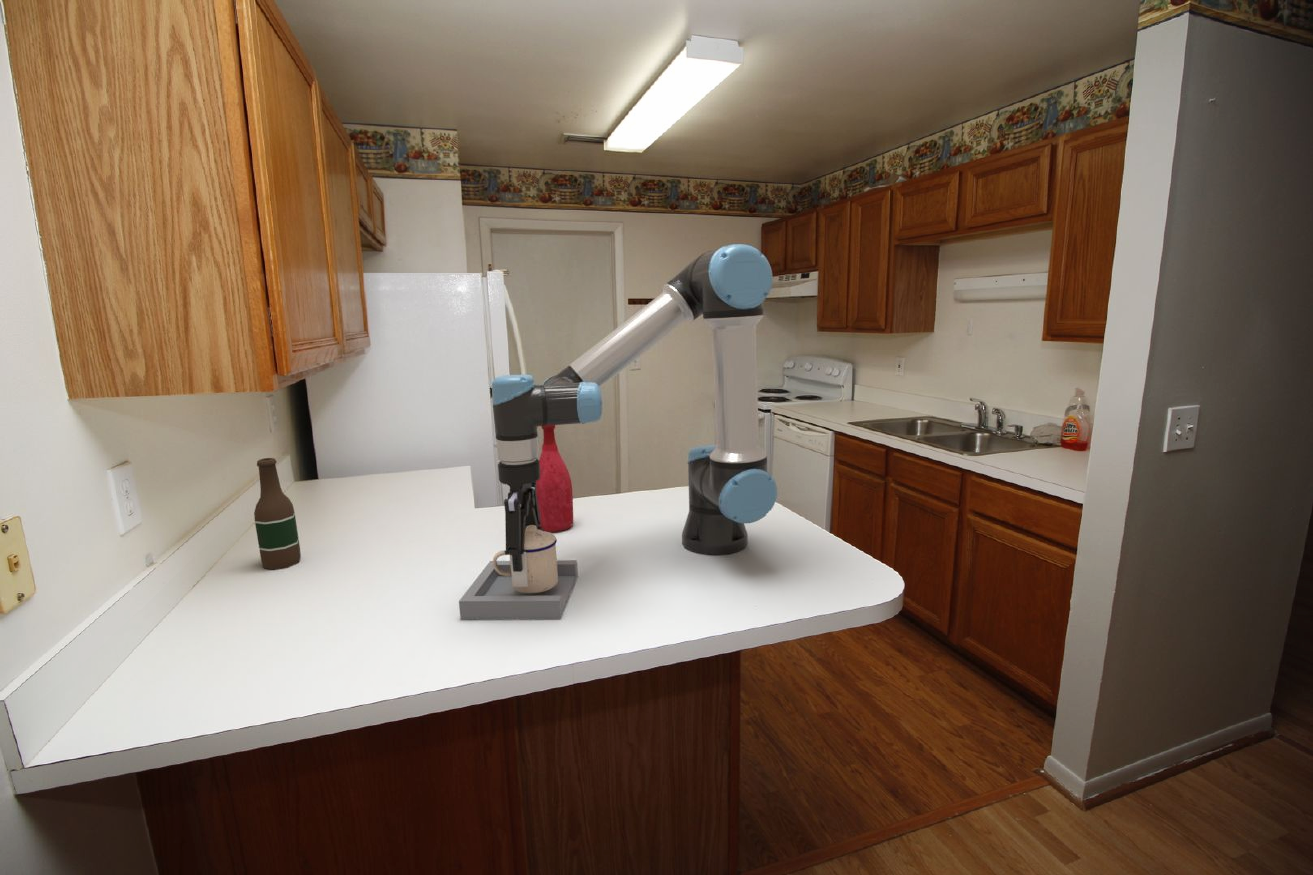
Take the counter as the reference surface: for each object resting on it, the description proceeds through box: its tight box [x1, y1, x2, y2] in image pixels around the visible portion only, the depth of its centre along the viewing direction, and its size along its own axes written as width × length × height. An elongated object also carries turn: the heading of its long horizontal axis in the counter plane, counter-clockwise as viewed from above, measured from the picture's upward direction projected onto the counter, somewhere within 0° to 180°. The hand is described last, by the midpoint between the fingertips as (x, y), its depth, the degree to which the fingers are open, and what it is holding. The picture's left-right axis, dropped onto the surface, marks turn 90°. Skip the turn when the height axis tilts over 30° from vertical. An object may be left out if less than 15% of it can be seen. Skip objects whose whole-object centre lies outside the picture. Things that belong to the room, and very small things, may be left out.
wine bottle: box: [536, 425, 574, 533], centre depth 153 cm, size 10×10×30 cm
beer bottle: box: [253, 457, 302, 571], centre depth 134 cm, size 8×8×24 cm
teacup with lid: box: [492, 525, 558, 593], centre depth 115 cm, size 12×9×12 cm
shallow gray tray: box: [458, 559, 579, 620], centre depth 117 cm, size 18×18×4 cm
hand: (527, 574), depth 116 cm, fingers closed on teacup with lid, 9 cm apart
